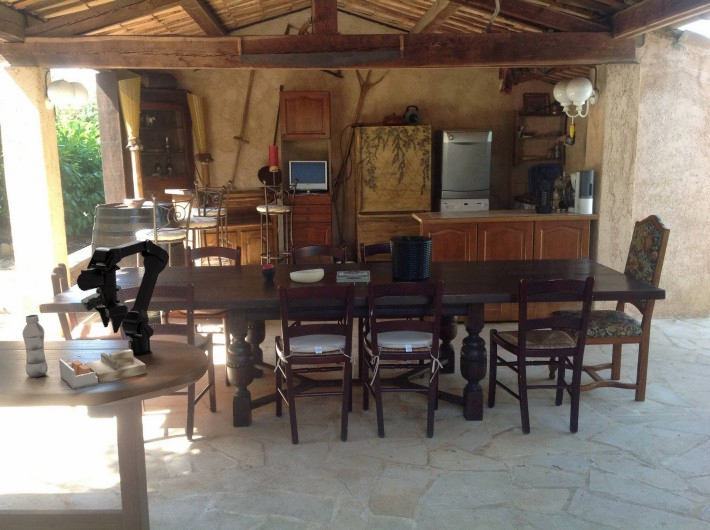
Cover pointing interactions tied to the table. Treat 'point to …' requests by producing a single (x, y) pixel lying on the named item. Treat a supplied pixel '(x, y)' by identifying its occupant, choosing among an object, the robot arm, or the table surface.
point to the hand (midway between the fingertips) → (110, 330)
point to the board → (123, 370)
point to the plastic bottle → (34, 347)
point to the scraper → (117, 358)
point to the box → (73, 380)
